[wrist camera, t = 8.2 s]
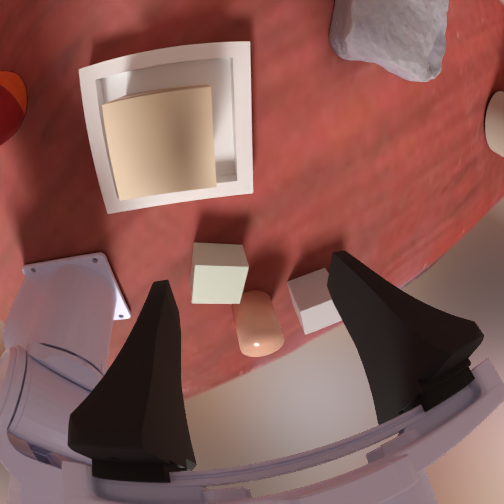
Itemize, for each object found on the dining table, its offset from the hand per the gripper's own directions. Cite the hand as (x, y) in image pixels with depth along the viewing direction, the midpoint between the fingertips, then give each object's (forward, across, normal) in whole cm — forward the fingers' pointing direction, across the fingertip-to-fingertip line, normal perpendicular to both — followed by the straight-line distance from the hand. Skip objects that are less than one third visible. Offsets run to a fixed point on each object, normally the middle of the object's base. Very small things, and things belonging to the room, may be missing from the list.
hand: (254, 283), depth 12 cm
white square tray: (+10, +3, -5) cm, 12 cm away
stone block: (+10, -13, -15) cm, 22 cm away
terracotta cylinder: (+10, -1, +13) cm, 16 cm away
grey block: (+10, -7, +12) cm, 17 cm away
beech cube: (+9, +3, -5) cm, 11 cm away
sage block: (+10, +2, +7) cm, 12 cm away
